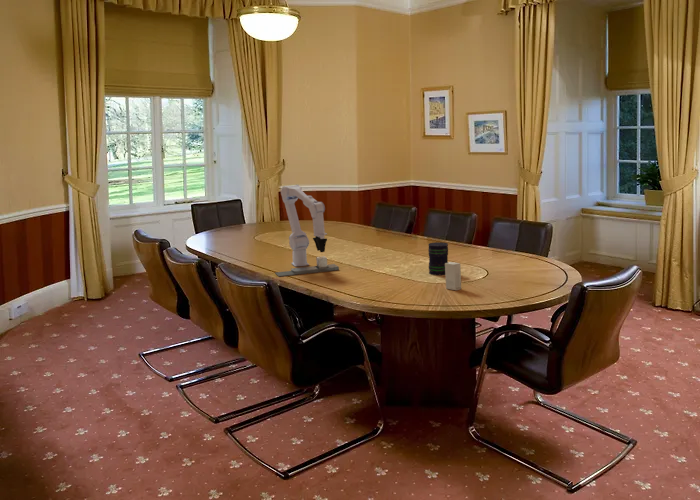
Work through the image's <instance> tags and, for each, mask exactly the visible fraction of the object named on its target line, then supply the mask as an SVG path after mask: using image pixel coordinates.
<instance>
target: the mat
mask: <svg viewBox="0 0 700 500" xmlns="http://www.w3.org/2000/svg"><path fill="white" fill-rule="evenodd" d="M274 274H275V275H276V276H277V277H278V278H281V277H292V276H297V275H296V274H294V273H293V272H292V271H291V270H286V271H279V272H274Z"/></svg>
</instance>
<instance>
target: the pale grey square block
mask: <svg viewBox="0 0 700 500" xmlns="http://www.w3.org/2000/svg"><path fill="white" fill-rule="evenodd" d="M327 265H328V257H327V256H325V255H323V256H317V257H316V266H317V269H320V268H327Z"/></svg>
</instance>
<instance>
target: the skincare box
mask: <svg viewBox="0 0 700 500" xmlns="http://www.w3.org/2000/svg"><path fill="white" fill-rule="evenodd" d="M461 269H462V268H461V263H460V262H454V261H449V262H448V263H445V275H444V276H445V289H446V290H447V289H448V290H450V291H451V290H453V291H459V290H462V275H461V273H462V272H461Z"/></svg>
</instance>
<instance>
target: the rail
mask: <svg viewBox="0 0 700 500" xmlns="http://www.w3.org/2000/svg"><path fill="white" fill-rule="evenodd" d="M339 270H340V266H338V265H337V264H335V263H331V264H327V268H320V269H317V265H314V266H313V265H312V266H300V267H295V268H290V271H292V272H293V273H294V274H296V275H295V276H299V275H307V273H308V274H317V273H323V272H324V273H325V272H326V273H327V272H333V271H339ZM298 274H299V275H298Z"/></svg>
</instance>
